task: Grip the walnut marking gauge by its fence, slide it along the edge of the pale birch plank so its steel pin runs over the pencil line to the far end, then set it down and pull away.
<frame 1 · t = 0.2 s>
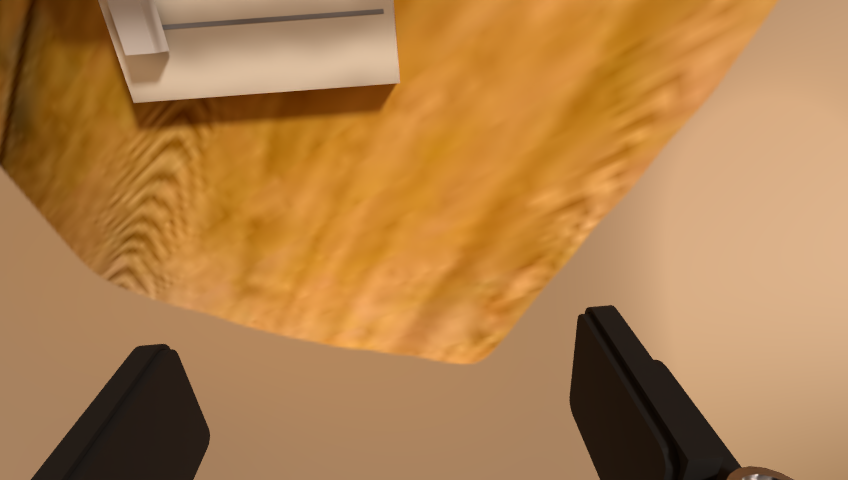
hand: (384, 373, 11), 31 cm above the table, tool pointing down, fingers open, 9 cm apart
birch plank: (262, 18, 34), on the table
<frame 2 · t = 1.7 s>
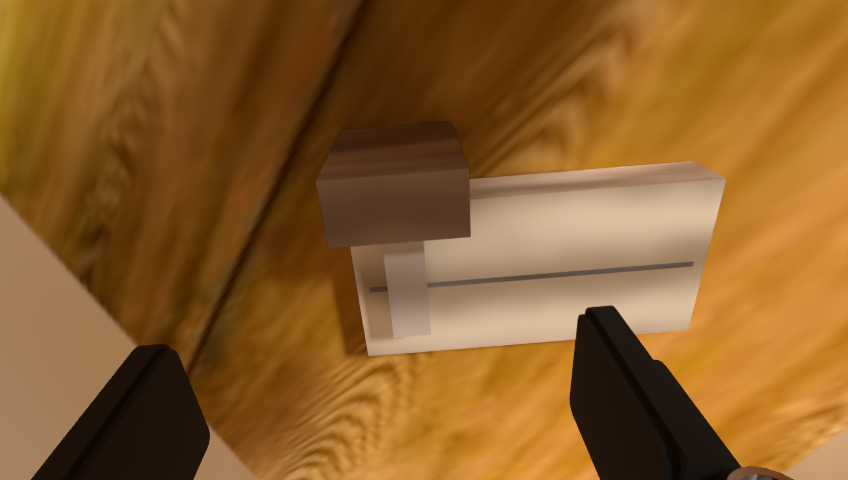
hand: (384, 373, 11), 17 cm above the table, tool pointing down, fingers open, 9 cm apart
marking gauge: (398, 152, 25), on the table
birch plank: (519, 250, 29), on the table
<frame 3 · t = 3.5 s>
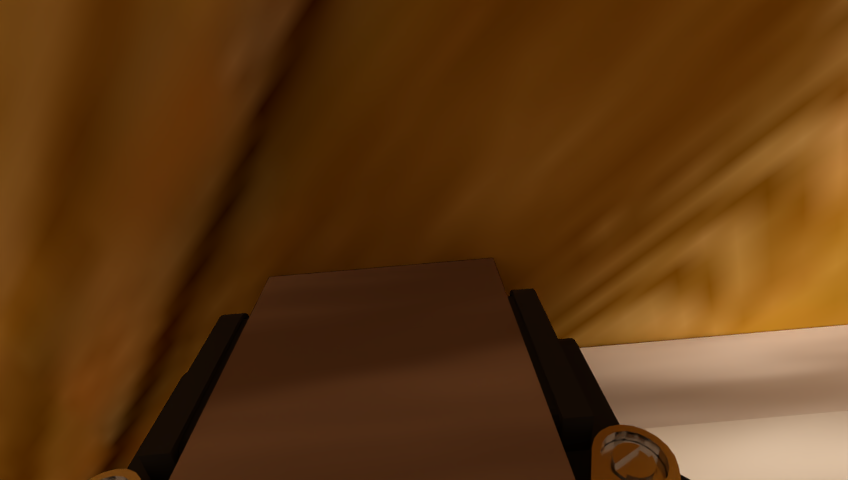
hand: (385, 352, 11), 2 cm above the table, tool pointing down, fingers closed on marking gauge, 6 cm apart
marking gauge: (387, 313, 13), on the table, touching gripper
birch plank: (606, 455, 16), on the table
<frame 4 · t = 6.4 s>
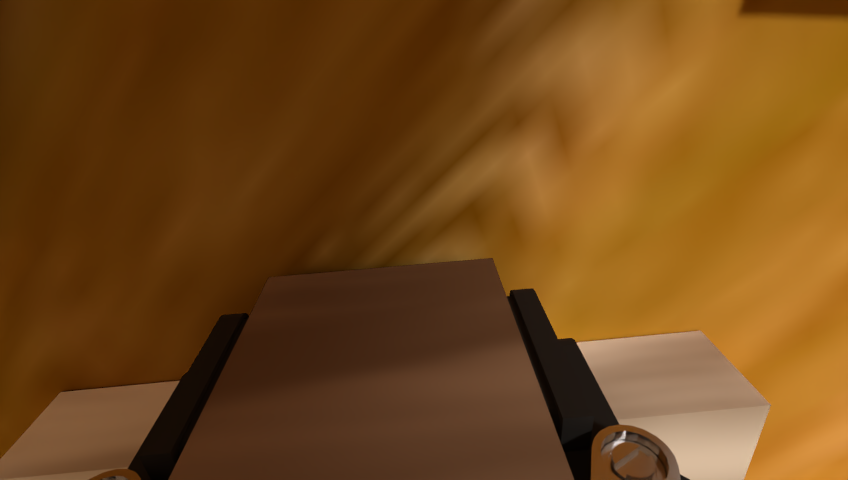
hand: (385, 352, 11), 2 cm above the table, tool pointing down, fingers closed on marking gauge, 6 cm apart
marking gauge: (386, 313, 13), on the table, touching gripper
birch plank: (398, 467, 16), on the table
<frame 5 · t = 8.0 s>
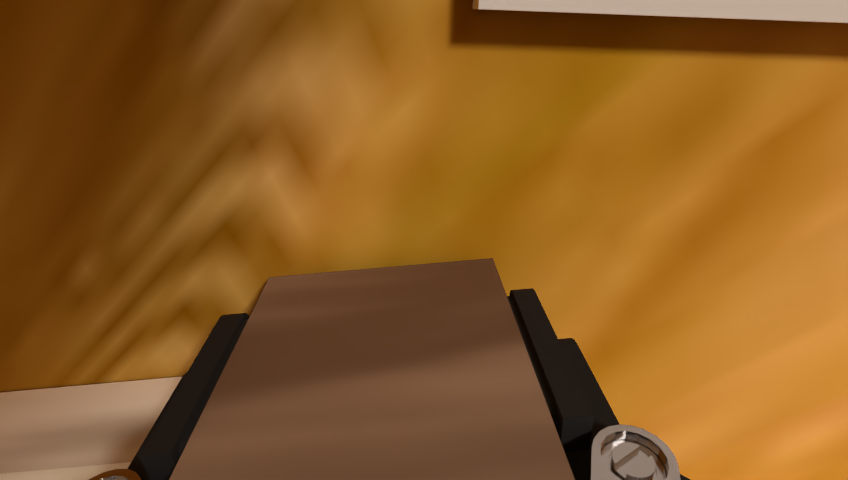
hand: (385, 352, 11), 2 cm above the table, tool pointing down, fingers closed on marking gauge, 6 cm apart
marking gauge: (387, 313, 13), on the table, touching gripper
when the fingers open (2 cm above the table, at t = 9.1 s): marking gauge stays where it is, on the table.
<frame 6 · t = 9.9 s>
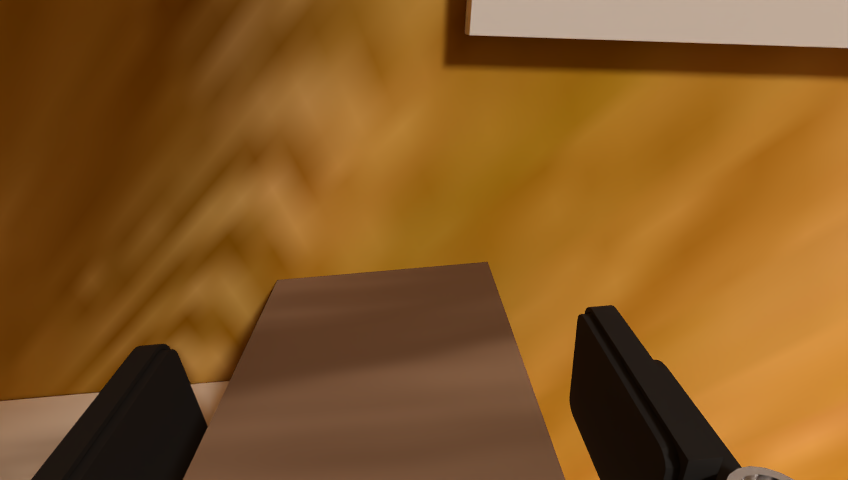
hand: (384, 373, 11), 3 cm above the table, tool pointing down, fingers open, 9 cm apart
marking gauge: (388, 314, 14), on the table
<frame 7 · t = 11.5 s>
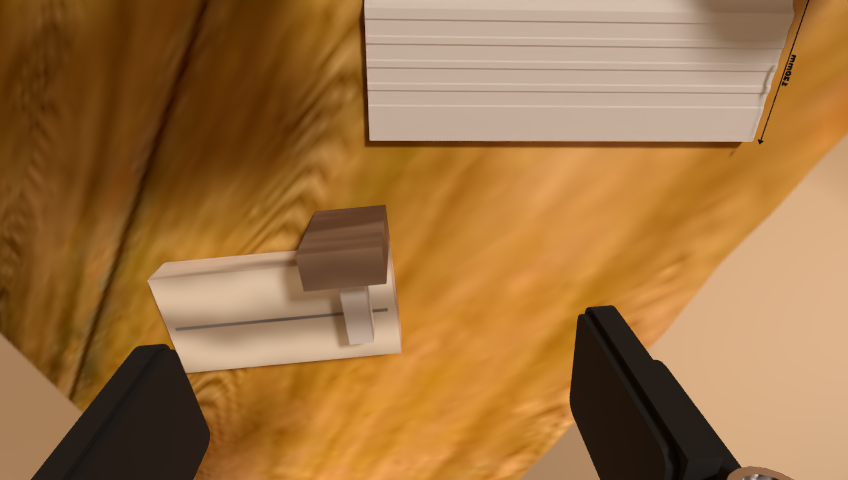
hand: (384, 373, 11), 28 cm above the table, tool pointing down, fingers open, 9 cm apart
baseboard: (569, 58, 35), on the table
marking gauge: (352, 224, 39), on the table
birch plank: (289, 299, 42), on the table
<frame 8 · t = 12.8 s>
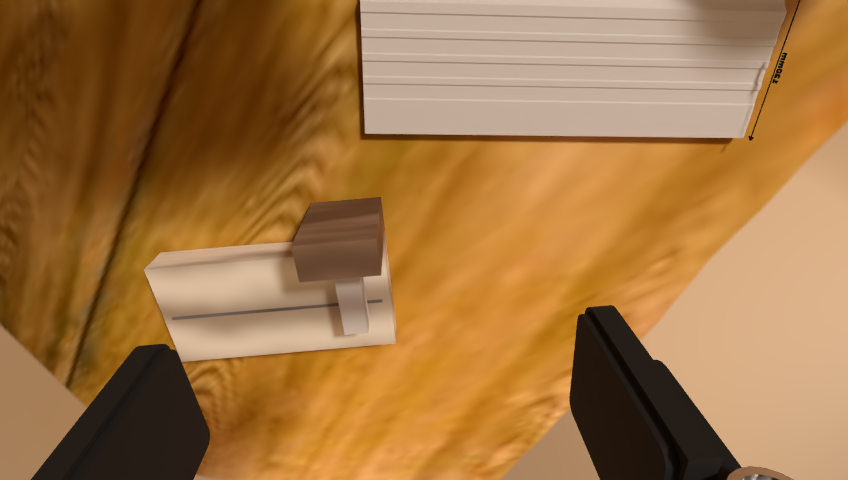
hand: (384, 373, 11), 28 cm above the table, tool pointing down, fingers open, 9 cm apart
baseboard: (564, 53, 35), on the table
marking gauge: (348, 216, 40), on the table
birch plank: (285, 289, 43), on the table
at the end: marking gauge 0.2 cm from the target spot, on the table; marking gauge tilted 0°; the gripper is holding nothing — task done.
